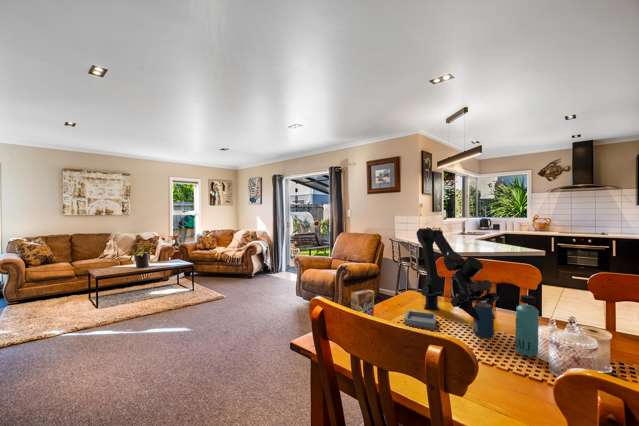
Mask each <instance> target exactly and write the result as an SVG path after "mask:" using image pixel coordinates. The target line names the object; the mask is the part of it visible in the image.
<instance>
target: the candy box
mask: <svg viewBox="0 0 639 426" xmlns="http://www.w3.org/2000/svg"><path fill="white" fill-rule="evenodd" d="M351 309H353V310H356V311H363V313H365V314H368V315H371V316H374V314H375V311H374V309H375V291H374V290H371V289H362V290H358V291H357V290H356V291H351V297H350V310H351Z"/></svg>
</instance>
